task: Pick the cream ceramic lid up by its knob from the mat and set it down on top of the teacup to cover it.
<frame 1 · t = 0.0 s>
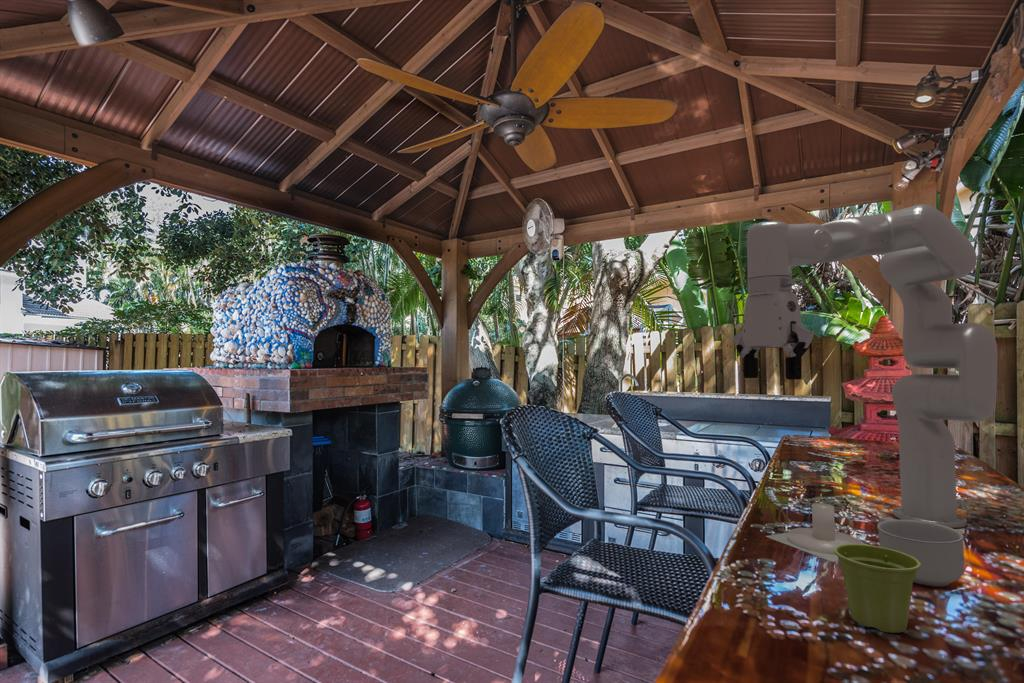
hand: (771, 378, 98), 31 cm above the table, tool pointing down, fingers open, 9 cm apart
teacup: (914, 576, 84), on the table
mat: (824, 545, 97), on the table
plant pot: (877, 623, 68), on the table
lid: (823, 543, 97), resting on mat
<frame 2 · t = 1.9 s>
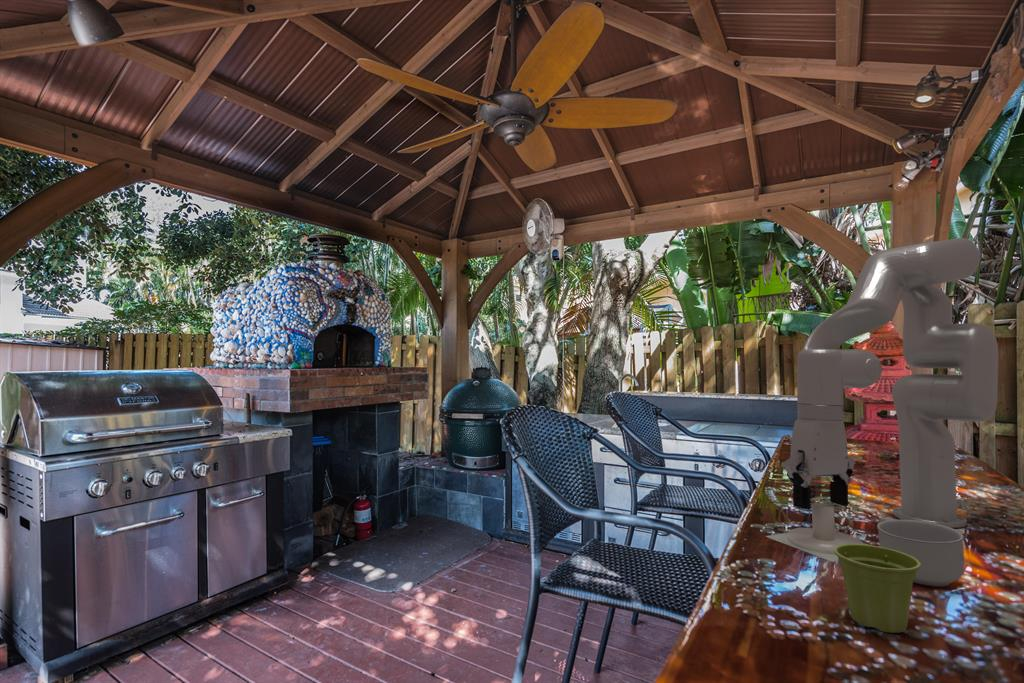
hand: (820, 505, 97), 7 cm above the table, tool pointing down, fingers open, 9 cm apart
nothing on the table moved.
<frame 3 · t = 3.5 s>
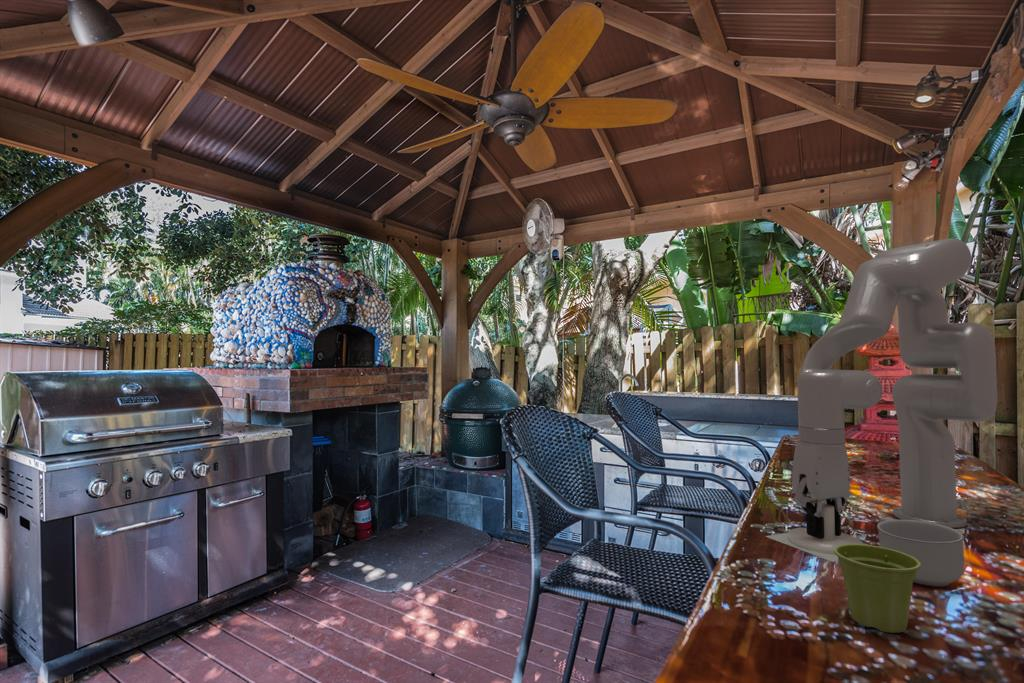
hand: (823, 534, 97), 2 cm above the table, tool pointing down, fingers closed on lid, 3 cm apart
lid: (823, 543, 97), resting on mat, touching gripper
everything else where it was.
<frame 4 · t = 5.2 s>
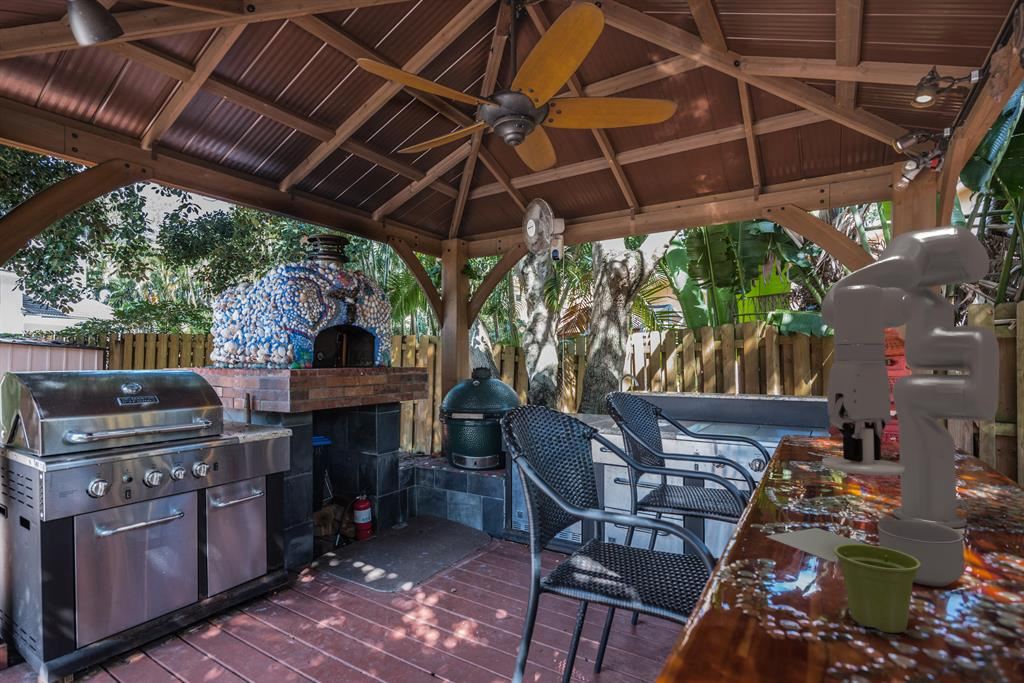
hand: (862, 458, 91), 17 cm above the table, tool pointing down, fingers closed on lid, 3 cm apart
lid: (862, 468, 91), point 16 cm above the table, touching gripper
everything else where it was.
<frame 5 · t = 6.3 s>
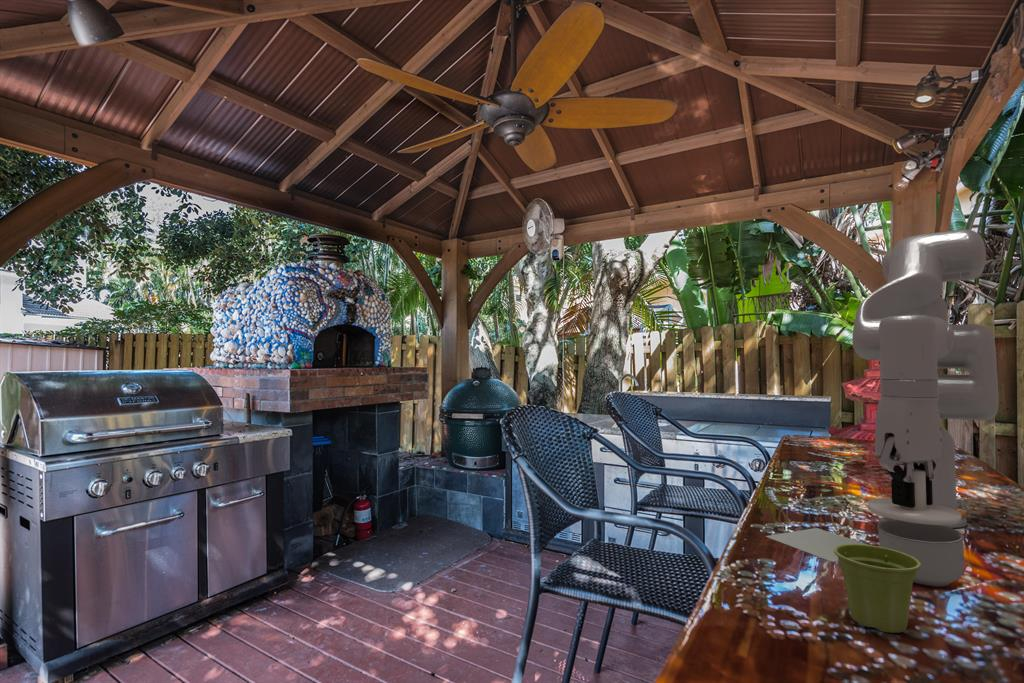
hand: (912, 503, 84), 11 cm above the table, tool pointing down, fingers closed on lid, 3 cm apart
lid: (912, 513, 84), point 10 cm above the table, touching gripper
everything else where it was.
when the fingers open (11 cm above the table, at t = 6.9 s): lid drops 2 cm, resting on teacup.
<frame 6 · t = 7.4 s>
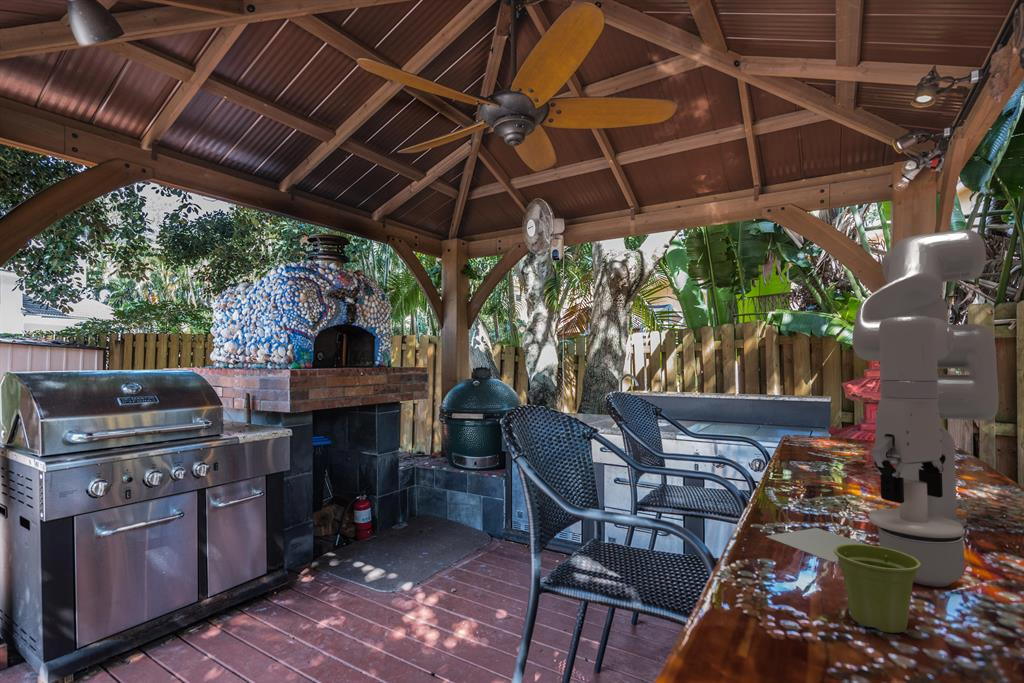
hand: (912, 498, 84), 12 cm above the table, tool pointing down, fingers open, 9 cm apart
teacup: (914, 576, 83), on the table, touching lid
lid: (914, 525, 84), point 8 cm above the table, touching teacup
everything else where it was.
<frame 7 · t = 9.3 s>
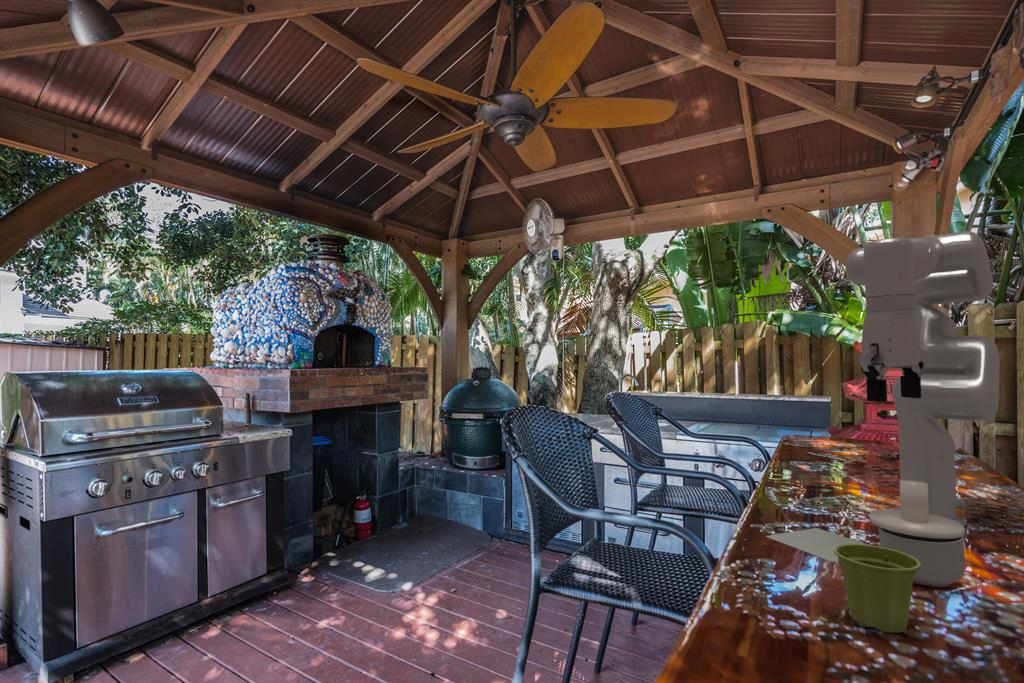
hand: (894, 399, 95), 27 cm above the table, tool pointing down, fingers open, 9 cm apart
nothing on the table moved.
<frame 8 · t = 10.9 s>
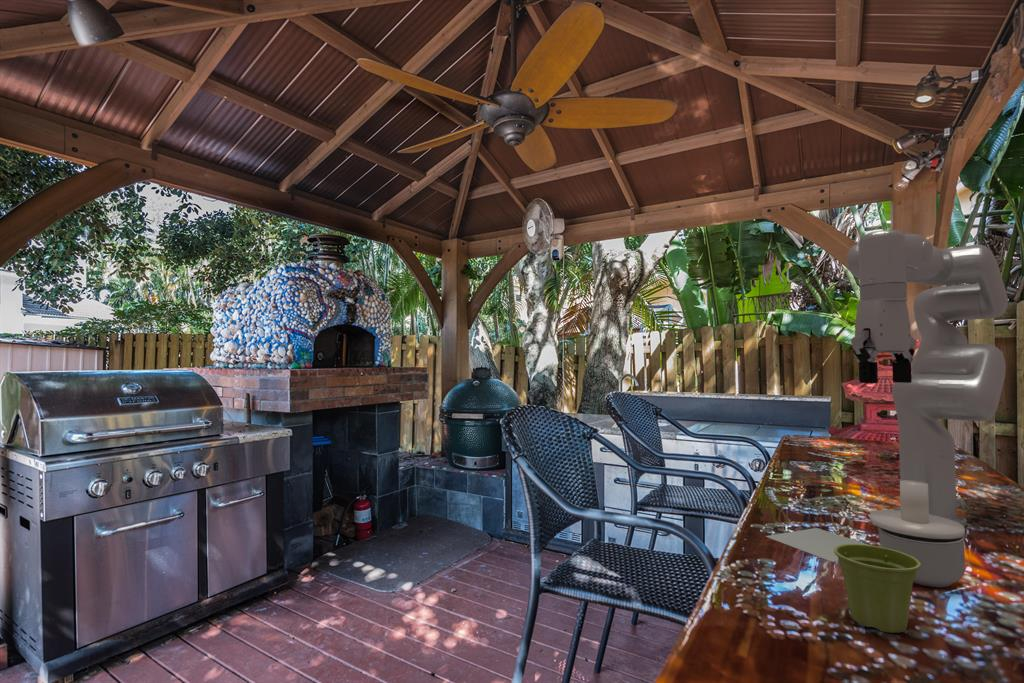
hand: (885, 382, 101), 30 cm above the table, tool pointing down, fingers open, 9 cm apart
nothing on the table moved.
at the end: lid 0.4 cm from the teacup (horizontally); lid point 7.9 cm above the table; lid tilted 0° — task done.
